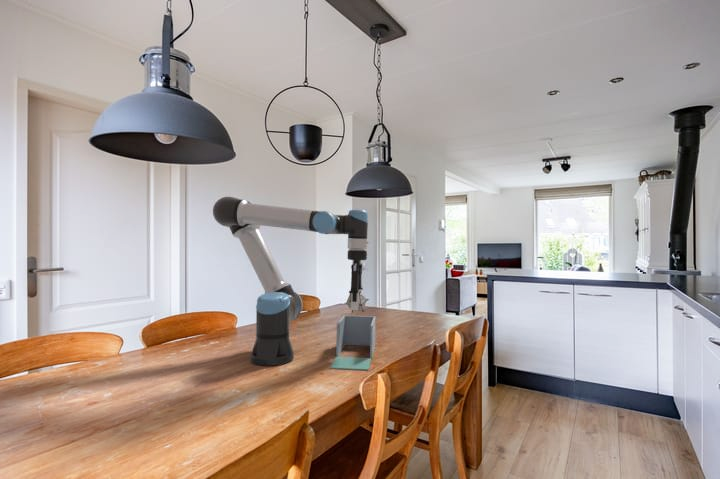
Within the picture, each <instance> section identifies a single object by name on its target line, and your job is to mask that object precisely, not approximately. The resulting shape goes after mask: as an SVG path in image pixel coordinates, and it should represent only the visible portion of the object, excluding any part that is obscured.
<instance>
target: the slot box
mask: <svg viewBox="0 0 720 479" xmlns="http://www.w3.org/2000/svg"><path fill="white" fill-rule="evenodd" d="M335 345H336V347H335V348H336V352H335V353H336V354H335V355H336V356H335V358H336V357H340V354H341V352H342V350H343V349H344V347H345V346H346V345H349V346H351V345H352V346H367V347H368V346H369V347H370V349H369V350H370V351H369V354H370V356H369V358H371V359H373V355H374V352H375V348H376V316H373V315H372V316H371V315H365V316H364V315H345V314H344V315H343V316H342V317H341V318H340V320H339V321H338V322H337V323H336V344H335Z"/></svg>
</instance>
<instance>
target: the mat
mask: <svg viewBox="0 0 720 479" xmlns="http://www.w3.org/2000/svg"><path fill="white" fill-rule="evenodd" d="M371 361H372V358H370V357H368V358H367V357H349V356H348V357H347V356H338V357H336V356H335V358H334V360H333V362H332V364H331V365H330V367H329V369H330V370H331V369H332V370H333V369H334V370H351V371H370V366H371V364H372V362H371Z"/></svg>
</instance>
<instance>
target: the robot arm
mask: <svg viewBox="0 0 720 479" xmlns="http://www.w3.org/2000/svg"><path fill="white" fill-rule="evenodd" d="M212 215H213V218H214V220H215V221H216V222H217V224H219V225H221V226H223V227H225V228H226V227H227V228H229V230H230V231H231V234H232V236H233V238H237V239H239V241H240V243H241V246H242V248H243V249H244V252H245V254H246V256H247V257H248V260H249V262H250V263H251V266H252V268H253V270H254V273H255V274H256V275H257V278H258V280H259V283H260V285H261V286H262V288H263V291H264V293H263V294H261V295H259V296H258V297H257V299H256V305H255V309H256V311H255V312H256V318H255V319H256V321H255V322H256V323H255V324H256V325H255V326H256V328H255V331H256V332H255V333H256V334H255V335H256V336H255V340H254V343H253V347H252V350H251V353H250V362H251V363H252V364H254V365H258V366H267V367H268V366H280V365H284V364H287V363H290V362H292V361H293V360H294V359H295V358H294V355H295V353H294V348H293V345H292V342H291V339H290V323H291V322H292V321H294V320H296V319H297V318H298V317H299V316H300V314H301V312H302V311H303V307H304V306H303V305H304V304H303V299H302V298H301V296H300V294H298V293H297V292H296V291H294V288H293V287H292V285H291V283H289V282H286V281H285V280H284V278H283V275H282V274H281V271H280V269H279V267H278V265H277V263H276V261H275V259H274V257H273V255H272V253H271V251H270V249H269V247H268V245H267V243H266V240H265V239H264V237H263V235H262V233H261V230H260V227H261V226H264V227H272V228H273V227H274V228H282V229H289V230H300V231H307V232H315V233H318V234H322V235H323V234H324V235H347V249H348V250H347V260H349V261H352V264H351V266H350V268H351V273H350V274H351V279H350V290H349V291H348V293H349V294H350V293H351V309H350V310H351V311H352V310H358V297H359V292H360V291H361V292H362V291H363V289H364V288H363V287H362V273H363V264H362V263H361V262H362V261H366V260H367V259H368V251H367V249H368V244H370V242H369V241H368V230H369V229H368V227H369V226H368V225H369V220H368V211H366V210H363V209H351V210H350V209H349V211H348V214H345V215H341V214H333V213H331V212H330V211H326V210H322V211H321V210H320V211H319V210H311V209H303V208H294V207H293V208H292V207H284V206H278V205H277V206H276V205H275V206H274V205H265V204H259V203H258V204H256V203H252V202H250V201H248V200H245V199H240V198H236V197H233V196H224V197H221V198H219V199H217V201H216V202H214V205H213V207H212Z"/></svg>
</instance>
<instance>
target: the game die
mask: <svg viewBox="0 0 720 479" xmlns="http://www.w3.org/2000/svg"><path fill="white" fill-rule="evenodd" d="M369 300H370V299H369V298H366V297H365V296H364V295H363V293H362V290H361V291H360V292H359V297H358V310H351V293H349V296H348V297H347V299H346V302H344V305H347V306H348V307H349V308H350V310H351V313H354V312H359V311H362V313H365V311H364V309H365V307H366V303H367V301H369Z"/></svg>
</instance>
